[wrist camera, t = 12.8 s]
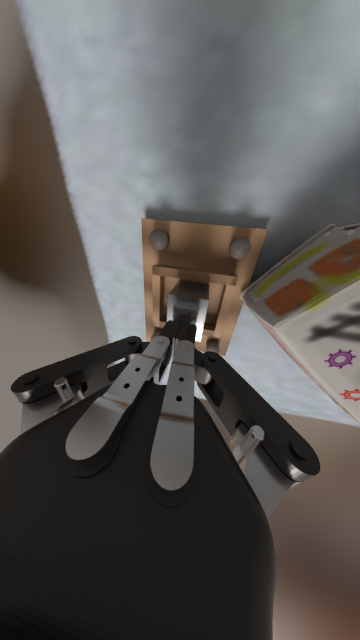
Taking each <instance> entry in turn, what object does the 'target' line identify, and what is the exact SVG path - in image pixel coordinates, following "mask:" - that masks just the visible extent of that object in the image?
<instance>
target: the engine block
mask: <svg viewBox="0 0 360 640" xmlns="http://www.w3.org/2000/svg"><path fill="white" fill-rule="evenodd" d="M208 302H209V284H204V283H197V282H190V281H182V280H179V281H178V283H177V284H176V285H175V286H174V287H173V289H172V290H171V291H170V292H169V293H168V304H167V322H168V321H169V320H172V321H174V319H175V317H176V316H178V317H183V318H190V319H191V322H190V324H195V325H196V327H197V331H196V338H195V341H199V342H201V337H202V332H203V327H204V322H205V317H206V312H207V307H208Z"/></svg>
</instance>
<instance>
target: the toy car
mask: <svg viewBox="0 0 360 640" xmlns="http://www.w3.org/2000/svg"><path fill="white" fill-rule="evenodd" d="M328 229H330V230H328ZM327 230H328V231H327ZM246 293H247V294H246ZM245 294H246V295H245ZM244 295H245V296H244ZM242 296H244V297H242ZM240 298H241V299H242V300H244V302H245V304H246V306H247V307H248V309H249V310H250V312H251V313H252V314H253V315H254V316H255V317H256V319H257V320H258V321H259V322H260V323H261V324H262V326H263V327H264V328H265V329H266V330H267V331H268V332H269V334H270V335H271V336H272V337H273V338H274V339H275V340H276V342H277V343H278V344H279V345H280V346H281V347H282V349H283V350H284V351H285V352H286V353H287V354H288V355H289V356H290V357H291V358H292V359H293V360H294V361H295V362H296V363H297V365H298V366H299V367H300V368H301V369H302V370H303V371H304V372H305V373H306V374H307V375H308V376H309V377H310V378H311V379H312V380H313V381H314V382H315V383H316V384H317V385H318V386H319V387H320V388H321V389H322V390H323V391H324V392H325V393H326V394H327V395H328V396H329V397H330V398H331V399H332V400H333V401H334V402H335V403H336V404H337V405H338V406H339V407H340V408H342V409H343V410H344V411H345V412H346V413H347V414H348V415H349V416H350V417H351V418H352V419H354V420H355V421H356V422H358V423H359V424H360V223H355V224H349V225H345V226H341V227H337V226H336V225H335V224H329V225H327V226H326V227H324V228H323V229H321V230H320V231H318V232H317V233H316V234H314V235H313V236H312V237H310V238H309V239H308V240H307V241H305V242H304V243H303V244H301V245H300V246H299V247H298V248H296V249H295V250H294V251H293V252H291V253H290V254H289V255H287V256H286V257H285V258H284V259H282V260H281V261H280V262H278V263H277V264H276V265H275V266H273V267H272V268H271V269H270V270H269V271H267V272H266V273H265V274H264V275H262V276H261V277H260V278H259V279H257V280H256V281H255V282H254V283H253V284H251V285H250V286H249V287H248V288H246V289H245V290H244V291H243V292H242V293H241V294H240Z"/></svg>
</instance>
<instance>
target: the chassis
mask: <svg viewBox="0 0 360 640" xmlns="http://www.w3.org/2000/svg"><path fill="white" fill-rule="evenodd" d="M267 232H268V229H258V228H247V227H235V226H224V225H212V224H201V223H189V222H178V221H167V220H155V219H144V218H142V243H143V268H144V293H145V318H146V340H147V341H152V339H153V338H154V337H156V336H159V334H160V333H161V331H162V329H163V327H164V326H165V324H166V322H167V304H168V293H169V292H170V291H171V290H172V289H173V287H174V286H175V285H176V284H177V283H178V281H179V280H182V281H190V282H197V283H204V284H209V302H208V307H207V312H206V317H205V322H204V327H203V332H202V337H201V342H199V341H195V348H196V349H197V350H198V351H203V352H207V351H213V352H216V353H218V354H219V355H223V356H225V354H226V351H227V348H228V345H229V342H230V339H231V337H232V334H233V331H234V328H235V325H236V322H237V319H238V316H239V313H240V310H241V307H242V305H243V302H244V300H242V299H241V298H240V294H241V293H242V292H243V291H244V290H245V289H246V288H248V287H249V284H250V281H251V278H252V275H253V272H254V270H255V267H256V264H257V261H258V258H259V255H260V252H261V249H262V246H263V243H264V240H265V238H266V235H267ZM245 295H246V294H245ZM245 295H244V296H245ZM244 296H242V297H244Z"/></svg>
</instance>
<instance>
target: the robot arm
mask: <svg viewBox="0 0 360 640" xmlns="http://www.w3.org/2000/svg"><path fill="white" fill-rule="evenodd" d="M190 322H191V319H190V318H183V317H178V316H176V317H175V319H174V321H172V320H169V321H168V322H166V324H165V326H164V327H163V329H162V331H161V333H160V334H159V336H156V337H154V338H153V339H152V341H150V342H142V340H141V338H139V337H137V336H131V337H127V338H124V339H122V340H119V341H116V342H113V343H110V344H107V345H105V346H102V347H99V348H96V349H93V350H90V351H87V352H85V353H82V354H79V355H76V356H74V357H70V358H67V359H65V360H62V361H59V362H56V363H53V364H50V365H48V366H45V367H42V368H39V369H36V370H33V371H31V372H28V373H26V374H24V375H22V376H21V377H19V378H18V379H17V380H16V381H15V382H14V383H13V384H12V386H11V391H12V392H13V393H14V394H15V395H16V397H17V398H18V400H19V402H20V403H21V404H22V405H23V407H22V420H21V434H20V435H19V436H18V437H17V438H16V439H14V440H13V441H12V442H11V443H10V444H9V445H8V446H7V447H6V448H5V449H4V450H3V451H2V452H1V453H0V640H272V620H273V602H274V593H275V585H276V557H275V548H274V543H273V538H272V534H271V529H270V526H269V523H268V520H267V517H268V516H269V515H270V514H271V512H272V511H273V510H274V508H275V507H276V506H277V504H278V503H279V502H280V501H281V499H282V498H283V497H284V495H285V494H286V493H287V491H288V490H289V489H291V488H292V487H294V486H296V485H298V484H300V483H302V482H304V481H305V480H307V479H309V478H311V477H313V476H315V475H317V474H318V473H319V471H320V463H319V459H318V457H317V455H316V453H315V451H314V450H313V448H312V447H311V446H310V445H309V443H307V441H306V440H305V439H304V438H303V437H302V436H301V435H300V434H298V432H297V431H296V430H295V429H294V428H292V426H291V425H289V423H287V421H285V419H284V418H283V417H282V416H281V415H280V414H279V413H277V412H276V411H275V410H274V409H273V408H272V407H271V406H270V405H269V404H268V403H267V402H266V401H265V400H264V399H263V398H262V397H261V396H260V395H259V394H258V393H257V392H256V391H255V390H254V389H253V388H252V387H251V386H250V385H249V384H248V383H247V382H246V381H245V380H244V379H243V378H242V377H241V376H240V375H239V374H238V373H237V372H236V371H235V370H234V369H233V368H232V367H231V366H230V365H229V364H228V363H227V362H226V361H225V360H224V359H223V358H222V357H221V356H220V355H219V354H218V353H216V352H213V351H207V352H205V353H202V352H200V351H198V350H197V349H196V348H195V338H196V331H197V327H196V325H195V324H190ZM124 357H125V361H123V362H120V363H118V364H116V365H114V366H112V367H109V368H107V366H108V365H109V364H111V363H113V362H115V361H117V360H120V359H122V358H124ZM170 360H173V362H172V364H171V368H170V373H169V378H168V382H167V385H160V384H161V382H162V380H163V377H164V375H165V373H166V371H167V368H168V364H169V361H170ZM194 380H195V381H197V385H198V387H199V388H200V390H201V391H202V393H203V394H204V396H205V397H206V399H207V400H208V402H209V403H210V405H211V406H212V408H213V409H214V411H215V412H216V414H217V415H218V416H219V418H220V420H221V421H222V423H223V424H224V426H225V427H226V429H227V430H228V432H229V433H230V435H231V436H232V438H231V449H232V452H233V453H234V456H235V458H236V459H235V458H234V456H233V454H232V453H231V451H230V449H229V448H228V446H227V444H226V442H225V441H224V439H223V437H222V435H221V434H220V432H219V430H218V429H217V427H216V425H215V423H214V422H213V420H212V418H211V416H210V415H209V413H208V411H207V410H206V408H205V407H204V405H203V404H202V403H201V402H200V400H199V399H197V398H196V397H195V396H194Z"/></svg>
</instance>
